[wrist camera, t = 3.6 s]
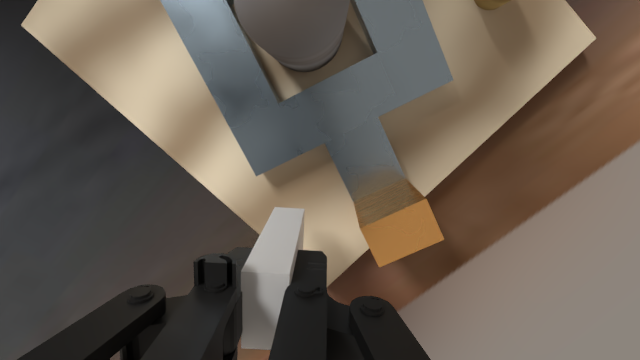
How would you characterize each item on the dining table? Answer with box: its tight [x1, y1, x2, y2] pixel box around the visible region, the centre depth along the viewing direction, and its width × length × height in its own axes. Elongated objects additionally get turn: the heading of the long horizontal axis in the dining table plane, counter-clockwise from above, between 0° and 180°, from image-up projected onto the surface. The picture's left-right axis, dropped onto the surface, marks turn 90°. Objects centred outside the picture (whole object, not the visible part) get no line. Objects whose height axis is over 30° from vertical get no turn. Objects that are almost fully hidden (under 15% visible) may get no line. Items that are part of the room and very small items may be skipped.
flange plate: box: [160, 0, 453, 267], centre depth 15 cm, size 16×11×5 cm, turn 26°
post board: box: [21, 0, 596, 287], centre depth 15 cm, size 22×20×7 cm
